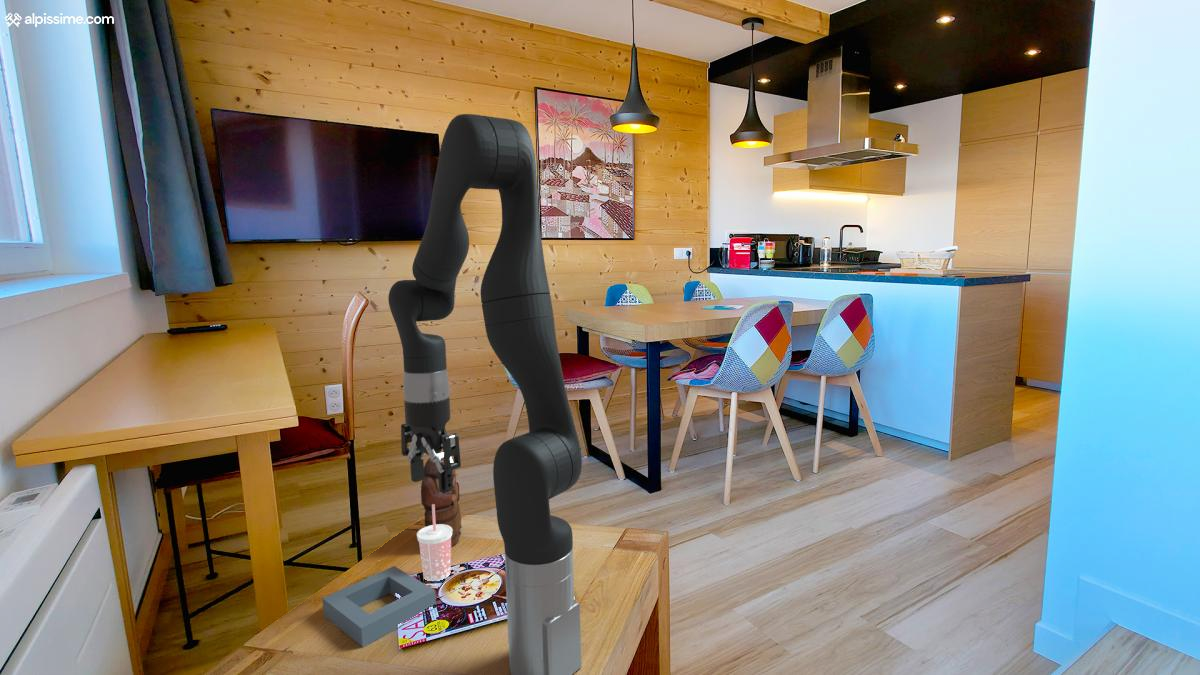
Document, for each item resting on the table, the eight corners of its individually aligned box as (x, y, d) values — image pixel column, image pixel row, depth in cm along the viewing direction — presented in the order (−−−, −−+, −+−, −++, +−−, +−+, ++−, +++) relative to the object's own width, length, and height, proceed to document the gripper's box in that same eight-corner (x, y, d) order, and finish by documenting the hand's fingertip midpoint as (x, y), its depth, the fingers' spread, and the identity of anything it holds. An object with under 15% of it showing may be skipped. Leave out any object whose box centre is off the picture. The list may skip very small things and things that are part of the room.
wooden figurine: (455, 552, 111) (450, 464, 109) (422, 554, 111) (416, 465, 109) (465, 525, 123) (461, 445, 121) (435, 527, 123) (431, 446, 121)
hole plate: (436, 607, 93) (435, 590, 93) (362, 647, 84) (361, 628, 83) (395, 581, 101) (394, 565, 101) (323, 615, 92) (322, 598, 91)
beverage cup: (460, 571, 104) (456, 498, 103) (446, 589, 98) (442, 512, 97) (429, 569, 105) (424, 497, 104) (413, 587, 99) (408, 511, 98)
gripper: (470, 397, 96) (474, 489, 98) (422, 387, 105) (426, 471, 107) (432, 406, 90) (437, 503, 92) (384, 394, 99) (390, 483, 101)
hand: (431, 486), depth 100 cm, fingers open, 8 cm apart
